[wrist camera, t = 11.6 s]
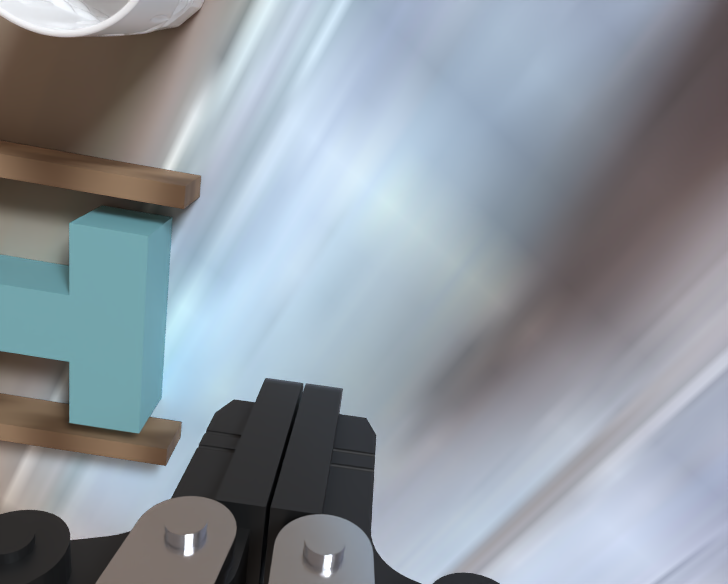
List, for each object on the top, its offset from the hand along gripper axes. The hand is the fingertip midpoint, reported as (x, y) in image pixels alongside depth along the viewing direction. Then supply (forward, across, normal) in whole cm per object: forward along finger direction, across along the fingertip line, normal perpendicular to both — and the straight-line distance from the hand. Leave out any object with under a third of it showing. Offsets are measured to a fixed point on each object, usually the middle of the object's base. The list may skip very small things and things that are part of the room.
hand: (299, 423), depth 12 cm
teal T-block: (+23, +16, +9) cm, 30 cm away
